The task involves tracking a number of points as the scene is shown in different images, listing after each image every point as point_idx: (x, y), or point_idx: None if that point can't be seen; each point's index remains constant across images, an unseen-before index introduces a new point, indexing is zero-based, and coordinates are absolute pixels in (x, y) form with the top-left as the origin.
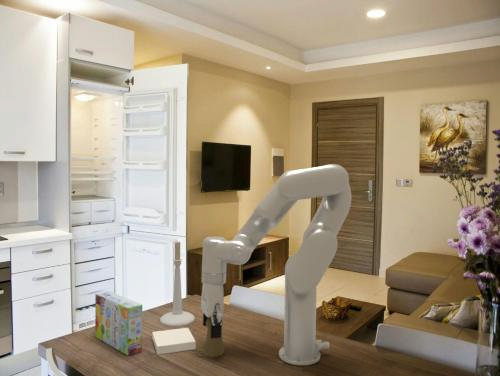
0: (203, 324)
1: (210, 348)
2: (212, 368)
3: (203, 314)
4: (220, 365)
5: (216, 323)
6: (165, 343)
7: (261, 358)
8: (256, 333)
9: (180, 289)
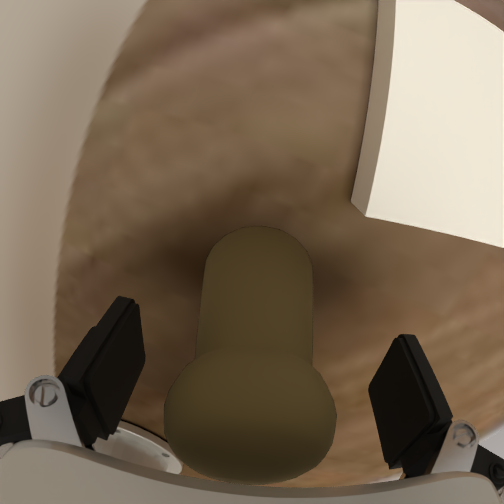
0: (405, 340)
1: (218, 264)
2: (92, 203)
3: (445, 410)
4: (109, 248)
5: (6, 404)
6: (424, 29)
7: (135, 392)
8: (331, 446)
9: None
